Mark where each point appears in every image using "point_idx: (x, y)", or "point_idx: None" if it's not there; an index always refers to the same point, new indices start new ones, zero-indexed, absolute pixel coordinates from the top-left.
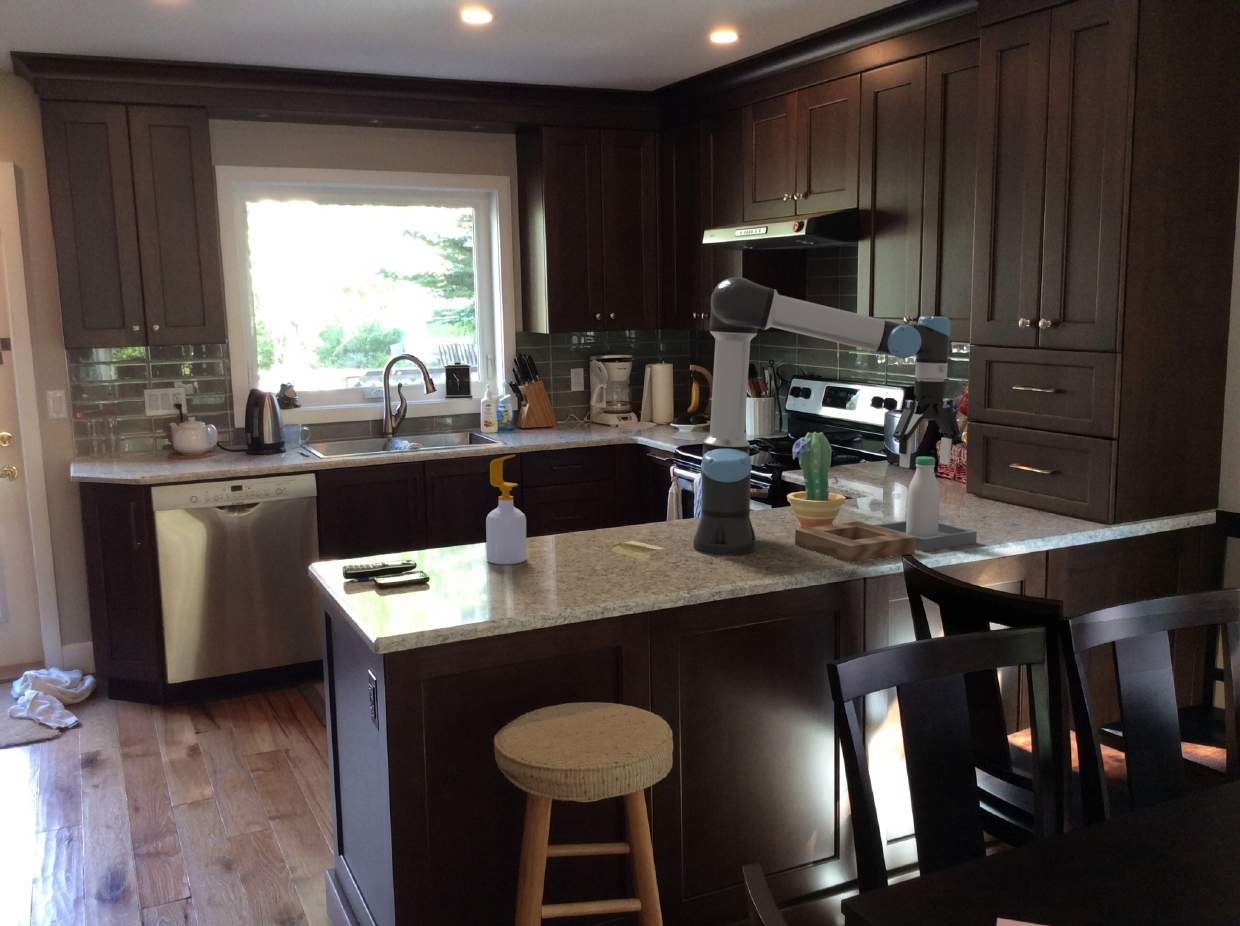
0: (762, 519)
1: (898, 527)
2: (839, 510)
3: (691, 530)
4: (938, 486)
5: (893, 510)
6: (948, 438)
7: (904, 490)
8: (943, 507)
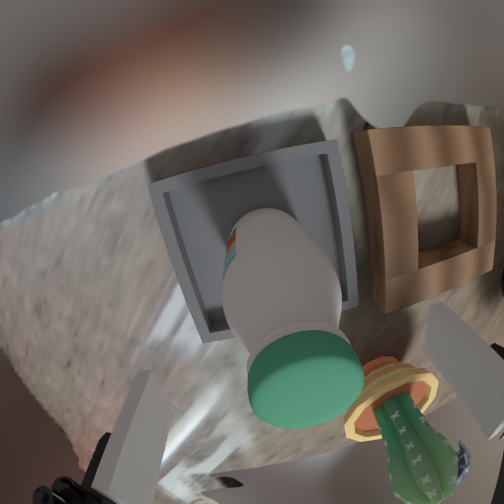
0: None
1: None
2: None
3: None
4: (241, 271)
5: (189, 433)
6: (110, 498)
7: None
8: (110, 422)
